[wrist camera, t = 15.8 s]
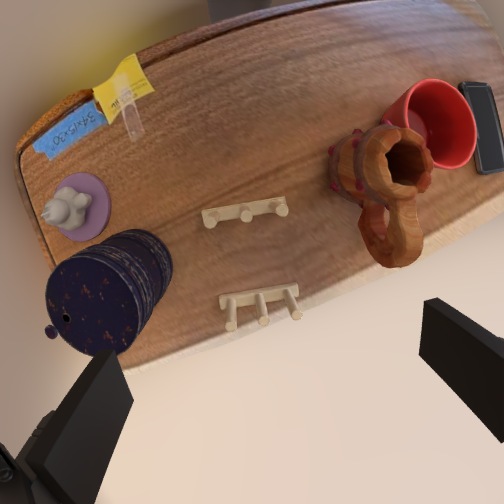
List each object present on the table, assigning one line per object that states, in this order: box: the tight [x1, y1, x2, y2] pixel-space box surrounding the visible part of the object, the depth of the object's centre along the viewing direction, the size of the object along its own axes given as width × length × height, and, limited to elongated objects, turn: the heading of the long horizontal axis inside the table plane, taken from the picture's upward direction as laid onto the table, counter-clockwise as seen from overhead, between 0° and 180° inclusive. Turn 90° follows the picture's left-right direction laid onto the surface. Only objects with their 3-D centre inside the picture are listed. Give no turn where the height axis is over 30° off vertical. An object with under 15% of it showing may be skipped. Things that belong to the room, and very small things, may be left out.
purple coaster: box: [53, 173, 111, 242], centre depth 36 cm, size 9×9×1 cm
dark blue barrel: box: [45, 229, 173, 357], centre depth 30 cm, size 10×10×18 cm
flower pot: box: [381, 79, 477, 170], centre depth 32 cm, size 11×11×10 cm
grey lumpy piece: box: [40, 187, 92, 231], centre depth 32 cm, size 5×7×8 cm
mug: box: [328, 119, 434, 268], centre depth 31 cm, size 15×8×15 cm, turn 4°
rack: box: [201, 196, 302, 331], centre depth 35 cm, size 13×10×8 cm
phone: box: [458, 81, 504, 175], centre depth 36 cm, size 8×1×15 cm
